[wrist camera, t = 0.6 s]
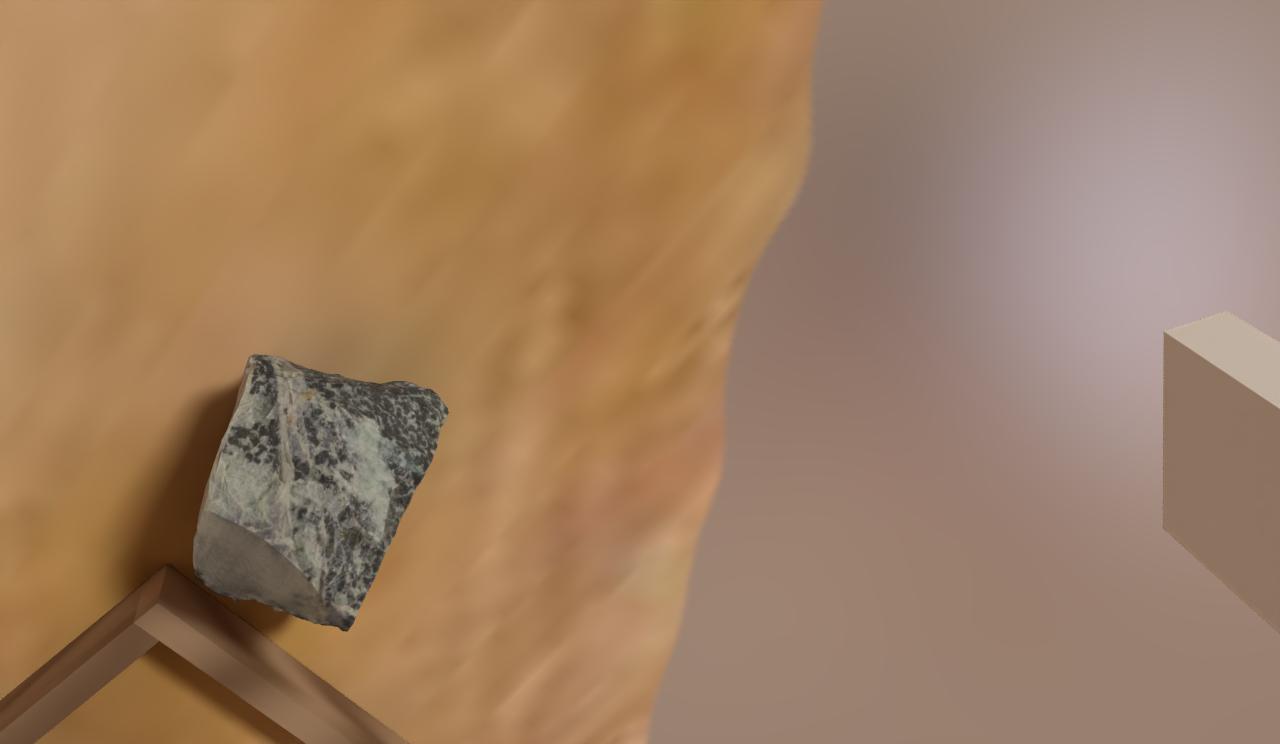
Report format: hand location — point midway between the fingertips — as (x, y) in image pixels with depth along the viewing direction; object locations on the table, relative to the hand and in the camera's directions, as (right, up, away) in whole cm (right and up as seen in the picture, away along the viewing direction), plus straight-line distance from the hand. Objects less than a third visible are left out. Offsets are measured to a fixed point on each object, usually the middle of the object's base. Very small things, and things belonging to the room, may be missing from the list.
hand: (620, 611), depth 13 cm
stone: (-12, 0, +31) cm, 34 cm away
